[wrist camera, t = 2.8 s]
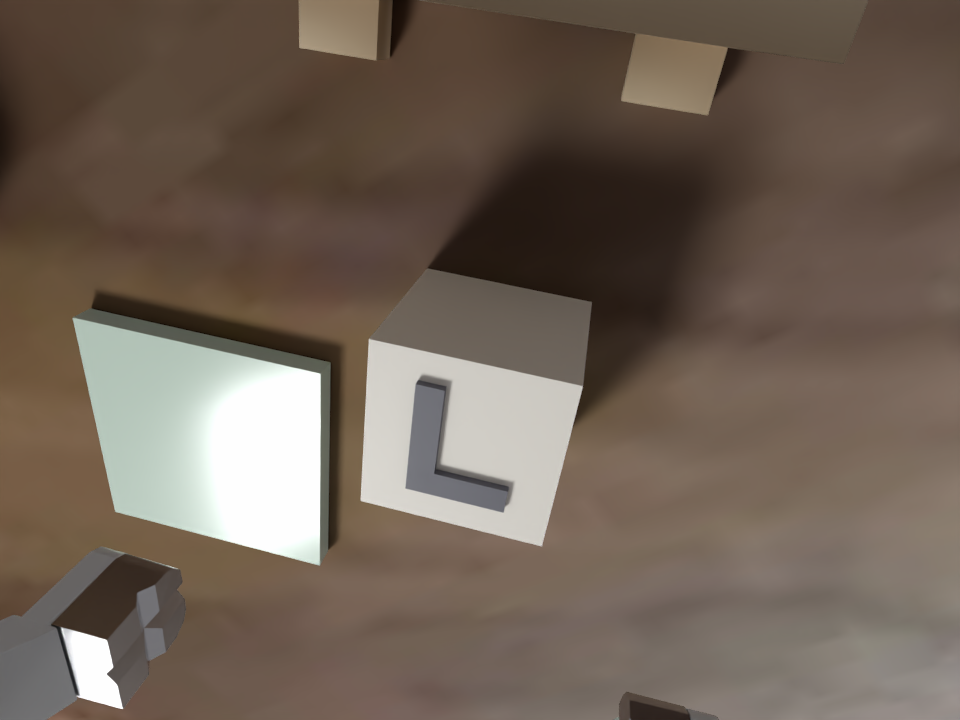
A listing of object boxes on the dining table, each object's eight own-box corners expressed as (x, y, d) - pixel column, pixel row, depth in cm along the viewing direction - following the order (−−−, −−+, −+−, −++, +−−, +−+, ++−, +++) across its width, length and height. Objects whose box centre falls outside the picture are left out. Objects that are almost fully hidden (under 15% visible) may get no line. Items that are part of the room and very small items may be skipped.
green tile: (90, 308, 22) (72, 317, 21) (330, 362, 21) (320, 373, 20) (128, 498, 26) (115, 511, 25) (328, 550, 25) (319, 565, 24)
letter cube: (427, 267, 18) (366, 342, 14) (591, 300, 18) (583, 390, 13) (414, 404, 21) (357, 505, 16) (558, 437, 20) (540, 551, 16)
